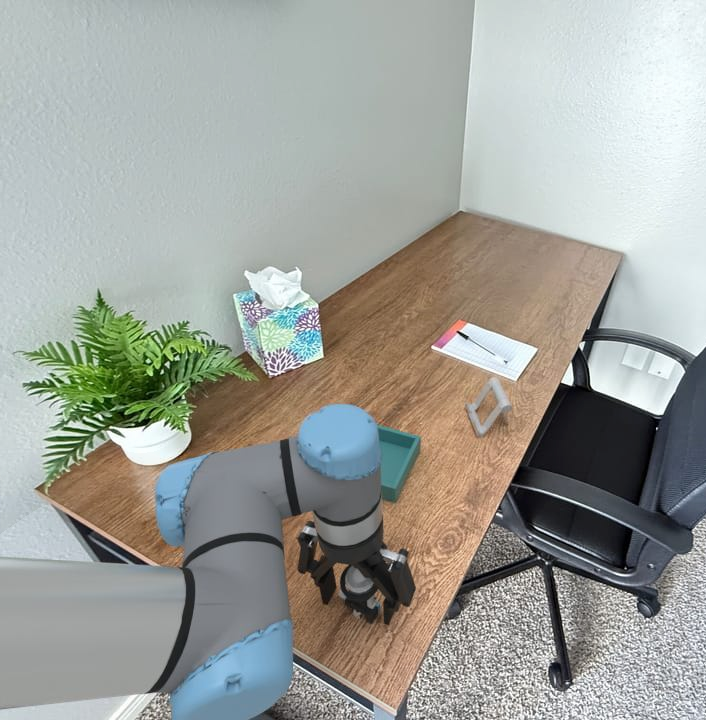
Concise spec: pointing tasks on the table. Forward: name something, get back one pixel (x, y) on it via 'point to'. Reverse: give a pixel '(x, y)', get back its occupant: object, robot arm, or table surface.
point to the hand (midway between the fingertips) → (359, 605)
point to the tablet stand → (502, 408)
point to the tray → (396, 459)
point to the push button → (359, 594)
